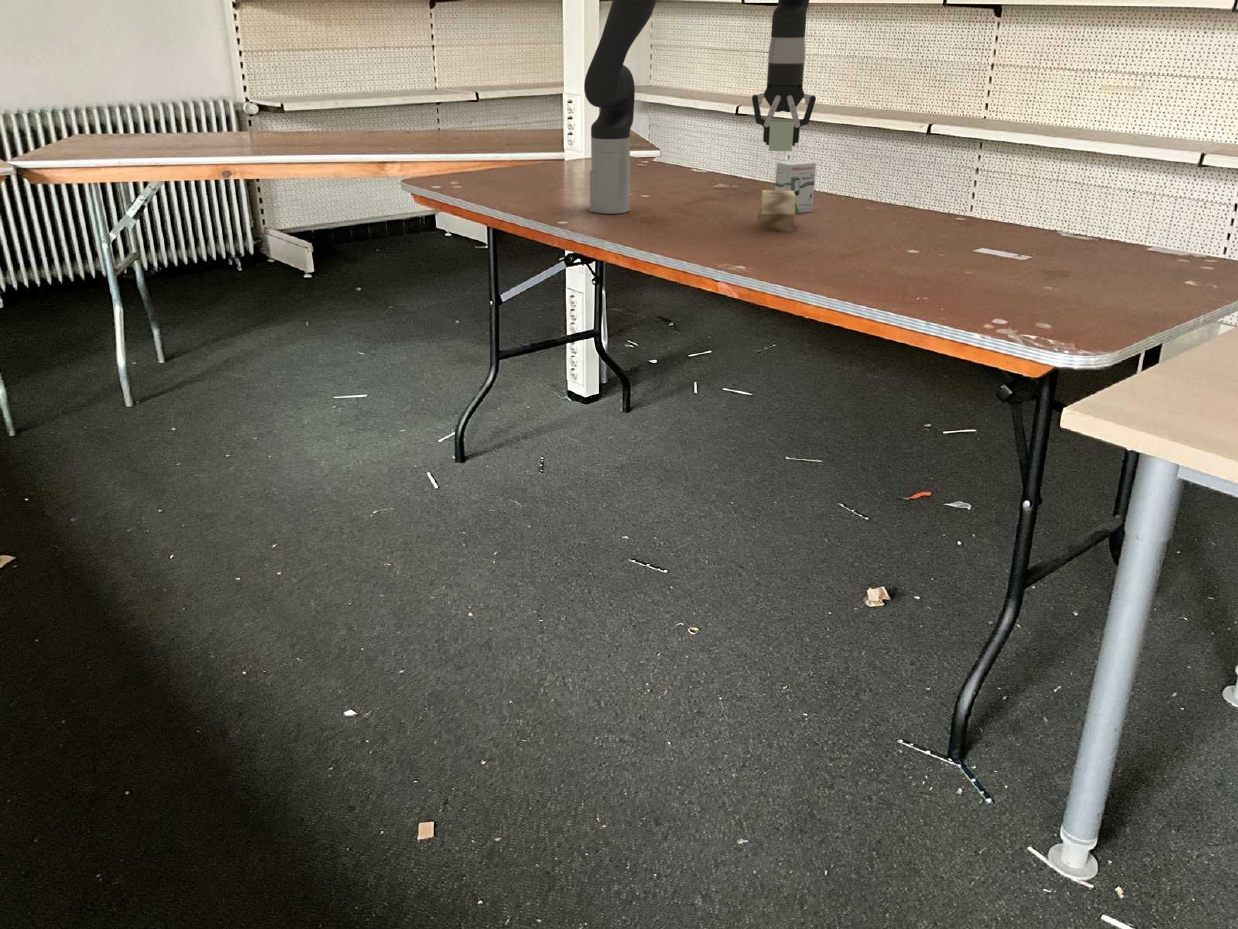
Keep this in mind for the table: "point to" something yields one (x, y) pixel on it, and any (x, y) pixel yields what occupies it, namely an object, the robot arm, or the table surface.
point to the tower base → (775, 222)
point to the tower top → (778, 202)
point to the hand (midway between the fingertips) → (780, 144)
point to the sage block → (781, 135)
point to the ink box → (797, 182)
